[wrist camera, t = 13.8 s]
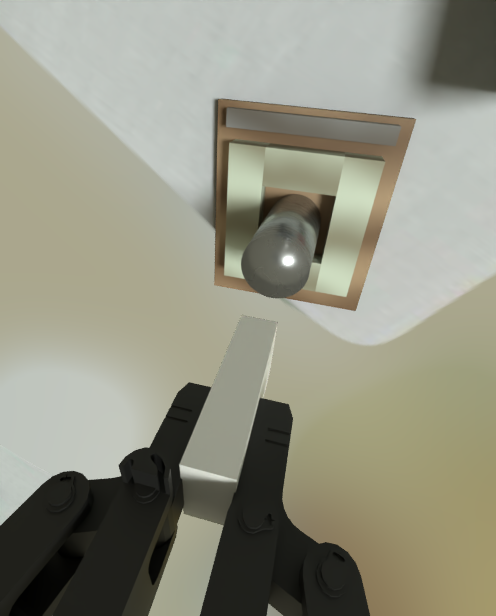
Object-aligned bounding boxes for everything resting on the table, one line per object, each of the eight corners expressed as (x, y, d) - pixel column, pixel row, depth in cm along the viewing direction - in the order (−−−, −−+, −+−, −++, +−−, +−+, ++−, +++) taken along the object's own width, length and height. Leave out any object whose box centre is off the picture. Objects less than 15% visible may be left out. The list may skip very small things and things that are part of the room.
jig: (222, 98, 26) (209, 100, 23) (413, 118, 24) (421, 122, 21) (217, 280, 35) (208, 295, 32) (355, 305, 33) (356, 323, 30)
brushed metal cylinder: (270, 192, 28) (240, 231, 20) (324, 196, 27) (313, 239, 20) (268, 242, 30) (241, 293, 23) (317, 247, 29) (305, 302, 22)
